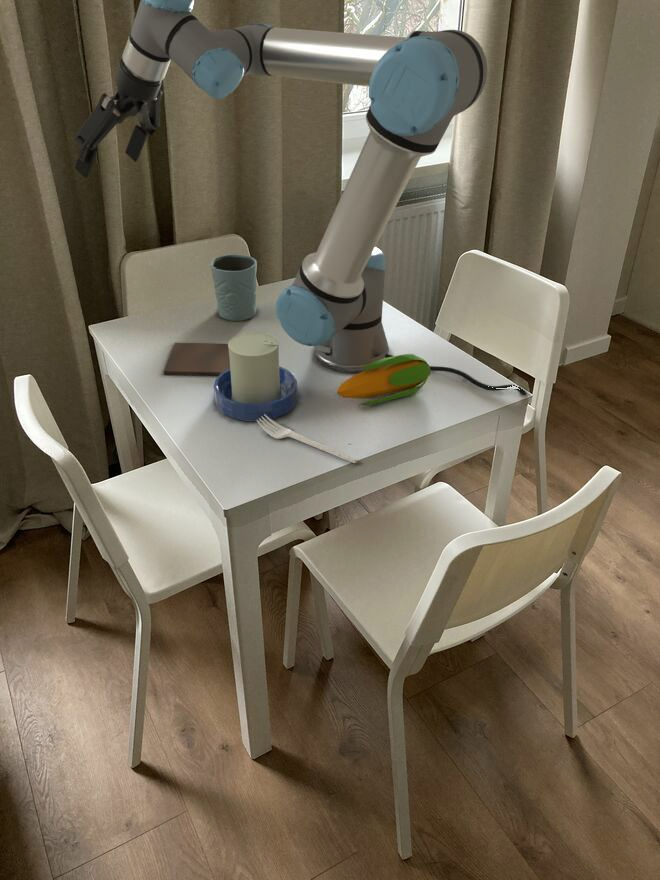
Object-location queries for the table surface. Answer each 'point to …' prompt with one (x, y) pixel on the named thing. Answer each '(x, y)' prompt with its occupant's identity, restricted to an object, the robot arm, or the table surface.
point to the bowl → (255, 410)
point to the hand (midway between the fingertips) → (107, 164)
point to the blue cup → (235, 286)
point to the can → (254, 368)
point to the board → (198, 359)
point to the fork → (298, 438)
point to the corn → (387, 379)
